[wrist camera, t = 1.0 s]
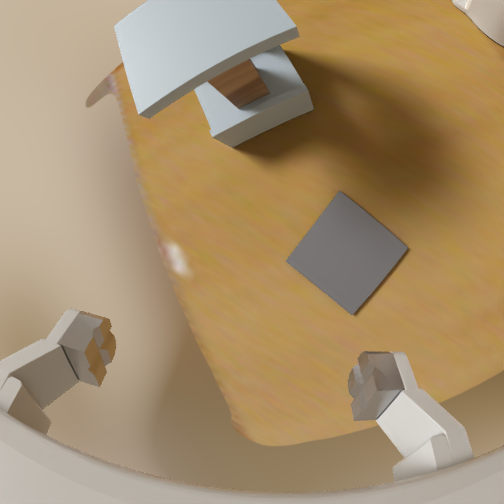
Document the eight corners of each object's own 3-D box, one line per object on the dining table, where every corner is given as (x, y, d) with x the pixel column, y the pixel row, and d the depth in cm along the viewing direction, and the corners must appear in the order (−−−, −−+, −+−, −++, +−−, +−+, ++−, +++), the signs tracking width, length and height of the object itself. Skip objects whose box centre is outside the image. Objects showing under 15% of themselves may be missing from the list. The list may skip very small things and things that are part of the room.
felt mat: (339, 190, 37) (339, 190, 37) (407, 247, 35) (408, 247, 35) (286, 260, 41) (285, 261, 40) (352, 313, 39) (352, 315, 38)
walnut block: (270, 93, 32) (244, 56, 23) (238, 109, 34) (203, 78, 24) (255, 67, 32) (228, 28, 23) (225, 83, 34) (190, 49, 24)
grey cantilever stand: (320, 113, 36) (296, 26, 16) (231, 155, 41) (138, 114, 20) (281, 47, 36) (232, -47, 16) (202, 87, 41) (114, 25, 20)
